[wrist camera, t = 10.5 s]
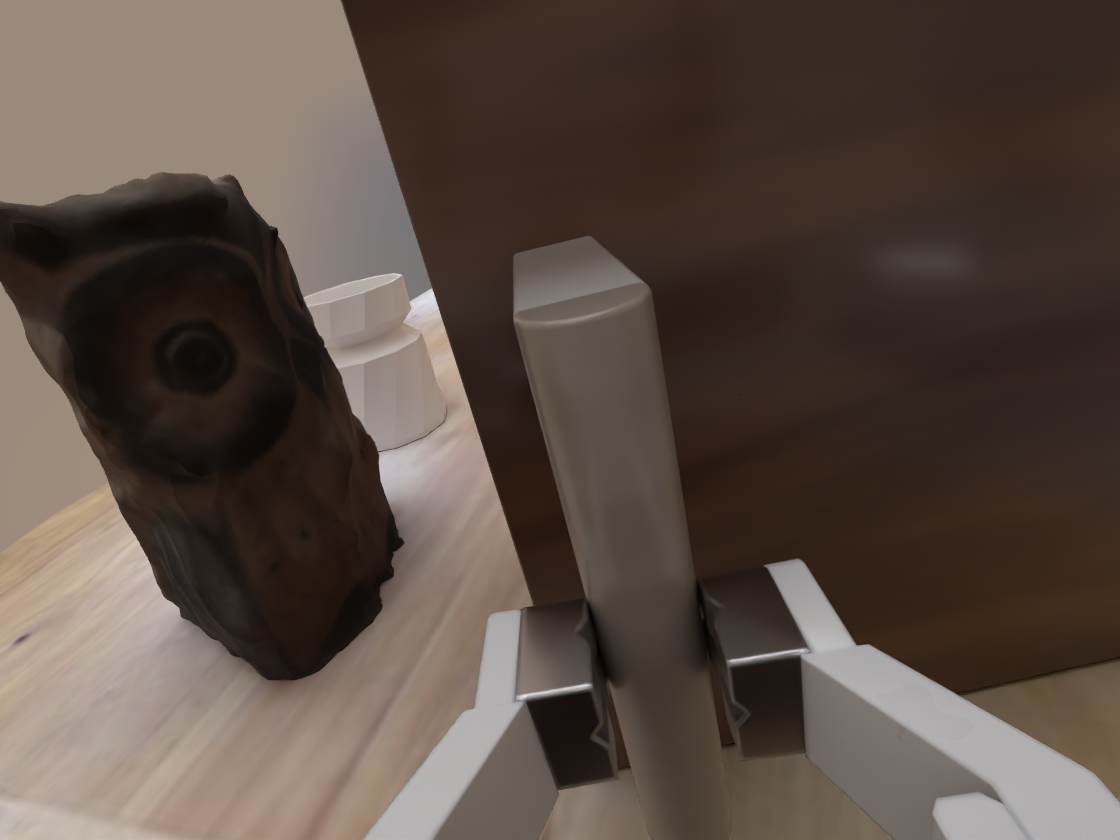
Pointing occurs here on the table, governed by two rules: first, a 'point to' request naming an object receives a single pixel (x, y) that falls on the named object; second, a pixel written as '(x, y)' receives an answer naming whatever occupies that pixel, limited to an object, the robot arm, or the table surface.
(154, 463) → the owl
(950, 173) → the door
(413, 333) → the vase
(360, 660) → the table surface
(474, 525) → the table surface
